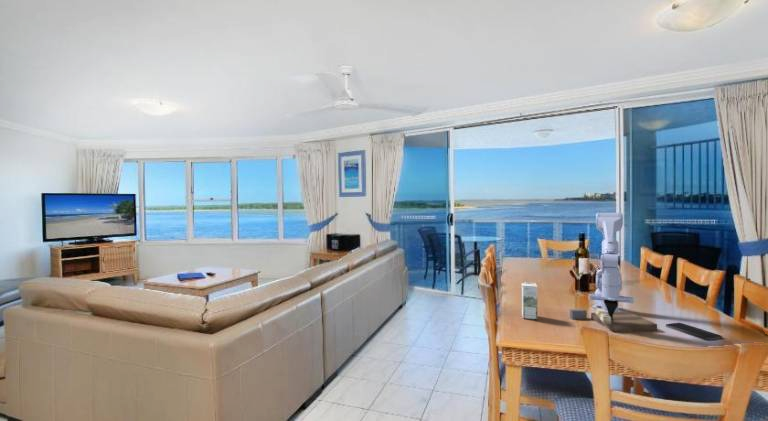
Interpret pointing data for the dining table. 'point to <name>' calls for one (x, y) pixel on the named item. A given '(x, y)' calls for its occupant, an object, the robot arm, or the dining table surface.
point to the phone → (694, 331)
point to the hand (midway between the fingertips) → (610, 319)
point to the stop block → (578, 314)
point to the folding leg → (603, 315)
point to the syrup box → (529, 300)
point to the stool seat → (627, 322)
